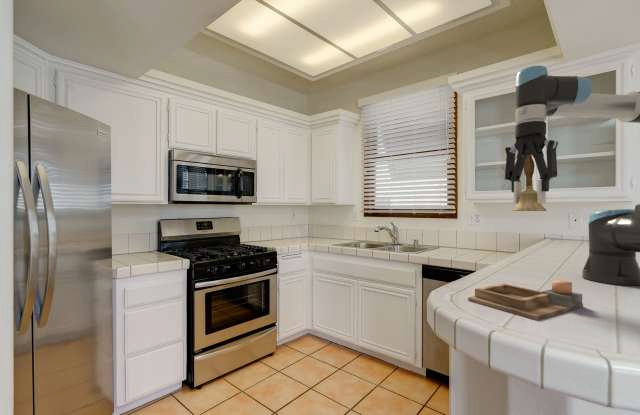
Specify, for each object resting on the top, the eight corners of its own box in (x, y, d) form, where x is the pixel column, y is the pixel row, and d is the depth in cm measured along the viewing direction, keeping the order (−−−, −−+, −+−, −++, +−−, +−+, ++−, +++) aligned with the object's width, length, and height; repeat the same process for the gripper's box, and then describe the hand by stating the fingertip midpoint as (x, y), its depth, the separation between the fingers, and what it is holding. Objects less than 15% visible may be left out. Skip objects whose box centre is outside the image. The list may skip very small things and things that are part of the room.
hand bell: (529, 211, 90) (530, 152, 90) (505, 210, 98) (506, 156, 98) (554, 211, 92) (555, 153, 92) (529, 210, 100) (530, 158, 100)
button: (557, 289, 84) (557, 279, 84) (575, 292, 81) (575, 282, 81) (548, 290, 82) (548, 281, 82) (566, 294, 79) (566, 284, 79)
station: (514, 291, 96) (514, 279, 96) (583, 306, 81) (583, 293, 81) (468, 300, 86) (468, 288, 86) (536, 320, 71) (536, 305, 71)
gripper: (491, 128, 102) (490, 203, 102) (559, 113, 85) (558, 203, 85) (507, 131, 105) (505, 203, 105) (575, 117, 88) (573, 203, 88)
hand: (529, 203), depth 95 cm, fingers closed on hand bell, 6 cm apart
